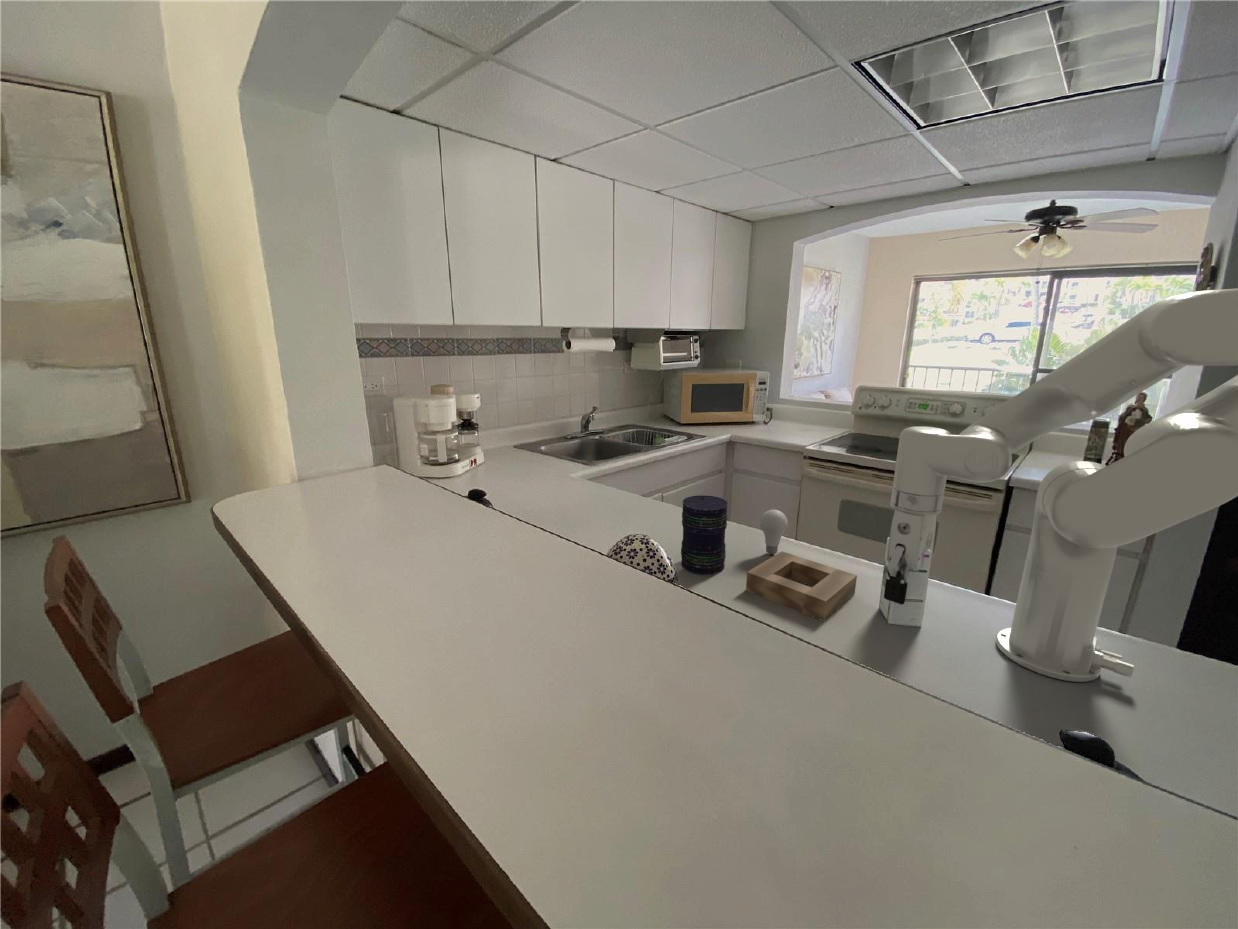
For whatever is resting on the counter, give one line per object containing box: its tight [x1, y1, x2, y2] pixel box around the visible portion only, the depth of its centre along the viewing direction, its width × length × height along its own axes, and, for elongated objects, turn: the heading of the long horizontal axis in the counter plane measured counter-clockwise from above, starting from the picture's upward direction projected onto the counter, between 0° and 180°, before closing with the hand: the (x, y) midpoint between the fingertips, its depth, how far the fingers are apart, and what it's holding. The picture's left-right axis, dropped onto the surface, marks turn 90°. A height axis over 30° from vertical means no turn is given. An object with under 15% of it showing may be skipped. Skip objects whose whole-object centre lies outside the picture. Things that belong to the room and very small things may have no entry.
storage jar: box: [680, 495, 729, 576], centre depth 109 cm, size 10×10×15 cm
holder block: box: [745, 551, 858, 621], centre depth 98 cm, size 16×14×4 cm
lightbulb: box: [759, 509, 789, 556], centre depth 114 cm, size 6×6×11 cm
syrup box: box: [878, 536, 933, 628], centre depth 88 cm, size 6×6×14 cm
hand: (902, 592), depth 88 cm, fingers closed on syrup box, 7 cm apart
